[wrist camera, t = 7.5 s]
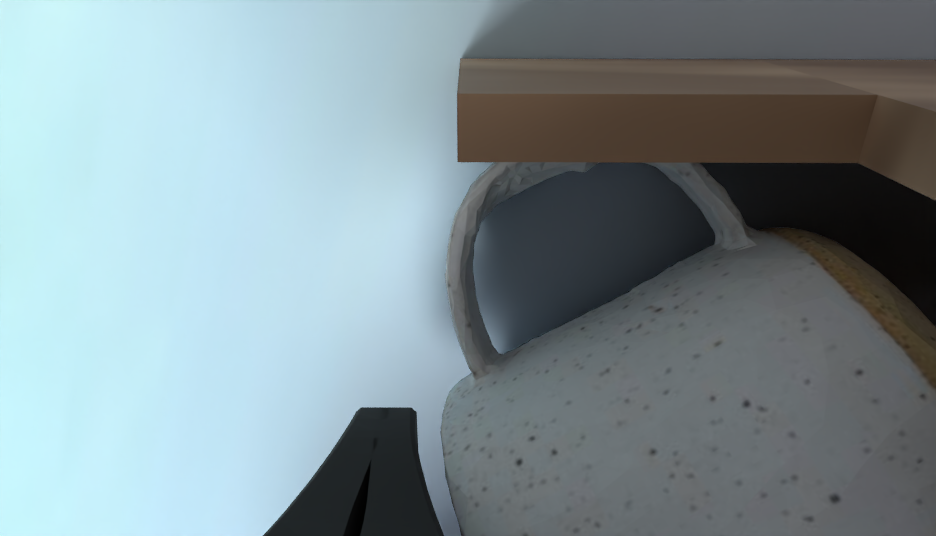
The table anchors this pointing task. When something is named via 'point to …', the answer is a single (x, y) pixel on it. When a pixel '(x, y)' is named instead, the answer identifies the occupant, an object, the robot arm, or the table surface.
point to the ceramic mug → (697, 392)
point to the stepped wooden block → (703, 112)
